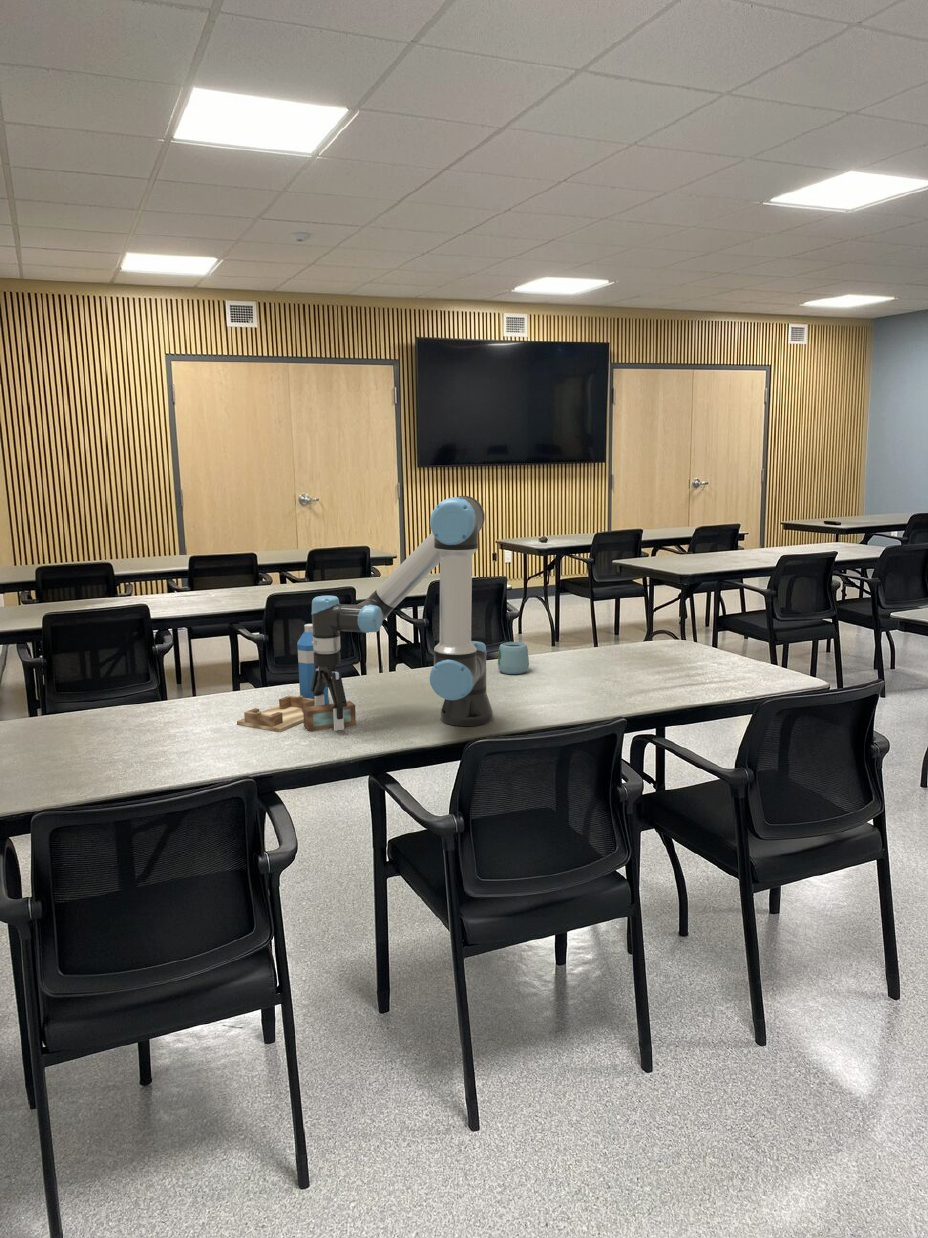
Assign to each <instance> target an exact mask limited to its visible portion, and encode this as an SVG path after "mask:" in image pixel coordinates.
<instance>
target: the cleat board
mask: <svg viewBox="0 0 928 1238" xmlns="http://www.w3.org/2000/svg"><path fill="white" fill-rule="evenodd" d="M278 701H279V702H278V704H277V705H275V706H272V707H270V708H267V709H265V710H262V711H260V708H252V709H250V710H247V711H244V713H243V714H244V717H243V718H241V719H239V720H237V721H236V725H239V726H244V727H249V728H255V729H260V730H261V729H262V730H267V731H273V732H277V733H281V732H283V731H287V730H289V729H291V728H293V727H296V726H298V725H300V724H304V717H303V708H304V707H311V706H315V699H309V698H303V696H302V695H300V694H299V695H298V696H294V695H286V696H284V697H280V698H279V699H278Z"/></svg>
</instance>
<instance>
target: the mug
mask: <svg viewBox="0 0 928 1238" xmlns="http://www.w3.org/2000/svg"><path fill="white" fill-rule="evenodd" d="M498 647H499V648H498V657H497V667H498V670H499V671H500V672H501V673H502V674H507V675H519V674H524V673H526V672H527V671H528V670H529V667H530V659H529V648H528V645H527V643H523V642H519V641H507V642H503V643H500V645H499V646H498Z"/></svg>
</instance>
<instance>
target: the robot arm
mask: <svg viewBox="0 0 928 1238" xmlns="http://www.w3.org/2000/svg"><path fill="white" fill-rule="evenodd" d="M485 517H486V515H485V511H484V508H483V506H482V504H481V503H480V502H479V501H478V500H477V499H476V498H474V497H471V496H468V495H459V496H455V497H449V498H445V499H444V500H442V501H440V502H439V503H438V504H437V505H436V506H435V508H433V511H432V512H431V514H430V519H429V525H430V529H431V533H430V534H429V535H428V536H427V537H426V538H425V539H424V540H423V541H422V542H421V543H420V544H419V545H418V546H417V547H416V548H415V549H414V550H413V551H412V552H411V553H410V554H409V556H407V557H406V559H405V560H404V561H402V563H401V564H400V565H399V566H398V567H397V568H396V569H395V570H394V571H393V572H392V573H391V574H390V575H388V577H387V578H386V579H385V580H384V581H383V582H382V583H381V584H380V585H379V586H378V587H377V588H376V589H375V590H374V591H373V592H372V593H371V594H370V595H369V597H367V599H365V600H363V601H362V602H361V601H360V603H358V604H345V603H344V604H343V603H340V600H339V597H337V596H336V595H320V596H315V597H314V598H313V599H312V601H311V613H310V614H311V622H312V623H311V624H312V626H313V641H312V644H313V649H314V651H315V652H314V653H313V655H314V675H313V680H312V686H311V692H313V694H314V696H315V706H318V705H325V703H324V695H321V694H325V692H324V689H325V686H327V687H328V691H329V693H330V696H331V700H332V702H333V703H334V706H333V716H334V728H333V731H335V732H336V731H341V730H345V726H344V714H343V707H346V706H347V698H346V692H345V689H344V684H343V679H342V678H343V677H342V672H341V671H337V669H336V668H337V666H339V665H340V664H341V661H342V659H341V652H340V650H341V635H340V634H341V633H340V632H353V633H355V632H356V633H365V634H369V633H377V632H379V631H380V630H381V627H382V625H383V621H384V620H386V619H387V618H388V617H389V615H391V614H390V613H391V612H392V611H394V609H395V608H396V607H397V606H398V605H399V604H400V603H401V602H402V601H403V600H404V599H406V597H407V596H408V595H409V594H410V593H411V592H412V591H413V590H414V589H415V588H416V587H417V586H418V585H419V584H420V583H421V582H422V581H424V580H425V578H426V577H427V576H428V575H429V574H431V572H432V571H433V570H434V569H435V568H436V567H437V566H438V565H439V642H438V643H437V644H436V645H435V646H434V649H433V666H432V668H431V670H430V674H429V684H430V686H431V689H432V690H433V691H434V693H435V694H436V695H437V696H438V697H440V698H441V699H444V700H443V704H442V707H441V710H440V720H441V722H443V723H444V724H447V725H450V726H456V727H475V726H481V725H485V724H488V723H490V722H491V721H492V720H493V719H494V718H493V717H494V715H493V713H494V712H493V709H492V706H491V702H490V700H489V697H488V694H487V654H488V653H487V646H486V644H485V643H484V642H482V641H476V640H472V601H473V600H472V593H473V592H472V591H473V590H472V589H473V588H472V586H473V581H472V580H473V554H475V553H476V552H477V550H479V532H480V531H481V530H482V529H483V526H484V524H485V521H486V520H485ZM333 703H332V704H333Z"/></svg>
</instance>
